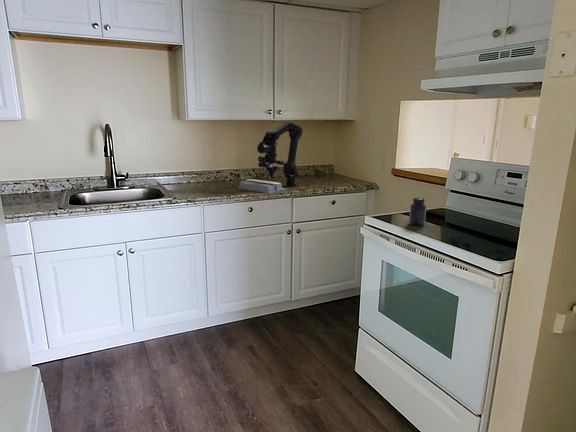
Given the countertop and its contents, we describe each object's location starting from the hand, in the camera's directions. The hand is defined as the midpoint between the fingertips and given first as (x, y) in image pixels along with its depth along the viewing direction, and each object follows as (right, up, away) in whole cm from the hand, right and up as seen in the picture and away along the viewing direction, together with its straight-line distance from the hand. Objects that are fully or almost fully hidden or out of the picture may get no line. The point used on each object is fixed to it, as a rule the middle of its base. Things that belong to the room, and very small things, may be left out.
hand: (271, 177), depth 266 cm
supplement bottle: (+68, -28, -76) cm, 106 cm away
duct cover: (-6, -2, +7) cm, 9 cm away
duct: (-6, -7, +8) cm, 12 cm away
